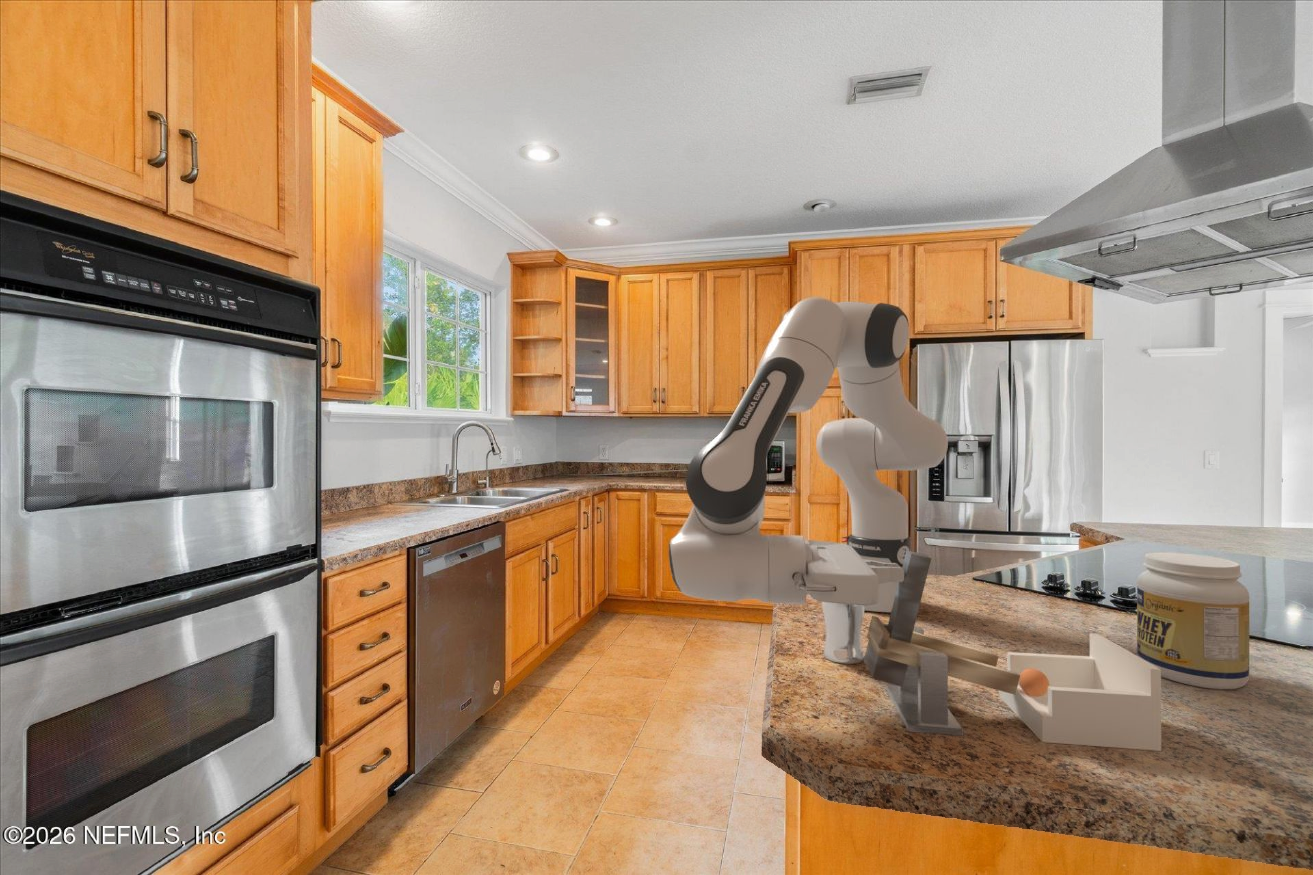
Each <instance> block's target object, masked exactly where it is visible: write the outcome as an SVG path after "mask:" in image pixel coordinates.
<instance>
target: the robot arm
mask: <svg viewBox="0 0 1313 875" xmlns="http://www.w3.org/2000/svg"><path fill="white" fill-rule="evenodd" d="M909 339H910V325H909V319H908V316H907V314H905V312H904V311H903V310H902V309H901V307H899V306H897V305H893V304H889V303H883V302H880V303H877V304H876V303H868V302H861V301H860V302H859V301H841V302H833V301H832V300H830V299H827V298H825V297H818V296H817V297H816V296H813V297H807V298H804V299H802V300H800V301H798V302H797V303H796V304H795V305H794V306H793V307H791V308H789V310H788V311H786V313H784V315H783V316H782V318H781V320H780V323H779V325H778V326H777V328H776V330H775V332H774V333H772V336H771V338H770V339H769V342H768V344H767V345H766V348H765V350H764V352H763V353H762V356H761V357H760V361H759V363H758V364H757V367H756V371H755V374H754V377H753V380H752V381H751V383H750V385H748V388H747V389H746V391H745V393H744V394H743V396H742V398H741V400H740V402H739V403H738V405H737V407H736V409H735V410H734V412H733V414H732V415H731V417H730V419H729V421H728V422H727V424H726V425H725V427H724V428H723V429H722V430H721V432H720V433H719V434H718V435H717V436H715V437H714V439H712V440H711V441H710V442H708V443H707V444H706V445H705V446H703V447H702V448H701V449H700V450H699V451H698V452H696V454H695V455H694V456H693V458H692V459H691V461H690V463H689V465H688V467H687V471H686V474H685V487H686V492H687V494H688V496H689V500H690V501H691V502H692V504H693V505H692V508H691V510H690V512H689V514H688V517H687V518H686V520H685V522H684V523H683V525H682V527H681V528H680V529H679V530H678V532H677V534H675V536H673V537H672V538H671V539H670V541H669V543H668V562H669V568H670V573H671V577H672V580H673V583H674V585H675V587H676V588H677V589H678V590H679V591H680V592H681V593H682V594H683V595H684V596H687V597H691V598H694V599H695V598H696V599H701V600H708V601H719V602H720V601H721V602H739V601H743V600H756V601H759V602H761V603H767V604H768V603H769V604H770V603H771V604H787V605H792V604H793V605H805V604H806V602H807V595H809V596H810V598H811V599H812V600H815V601H816V602H828V603H838V604H850V605H864V606H865V610H864V611H868V612H878V613H879V612H880V613H891V611H892V607H893V603H894V599H895V595H896V591H897V587H898V583H899V582H903V581H904V570H903V568H902V567H903V563H904V559H905V555H906V551H907V550H908V551H912V550H911V548H912V547H911V538H910V536H909V505H908V501H907V499H906V497H905V496H904V495H903V494H902V493H901V492H899V491H898V490H897V489H894V488H892V487H890V486H888V485H886V484H884V483H883V482H881V481H880V480H879V478H878V476H877V471H910V472H911V471H917V470H925V469H930V468H936V467H937V466H938V465H940V464H941V462H942V461H943V460H944V459H945V456H946V454H947V451H948V448H949V447H948V445H949V441H948V440H949V439H948V436H947V433H946V431H945V429H944V428H943V426H942V425H941V424H940V422H938V421H937V420H935V419H933V418H930V417H929V416H927V415H925V414H924V413H922V412H920V411H919V410H918V409H917V408H915V407H914V405H912V403H911V402H910V401H909V399H908V398H907V396H906V394H905V391H904V387H903V386H904V385H903V382H902V381H903V380H902V378H901V376H902V375H901V370H900V360H901V359H902V358H903V356H904V355H905V353H906V350H907V347H908V344H909ZM836 369H837V373H838V378H839V384H840V389H841V395H842V399H843V403H844V405H845V407H846V408H847V409H848V411H849V412H851V414H853V415H854V416H855V417H852V418H851V417H849V418H848V417H847V418H842V419H841V418H840V419H837V420H836V419H835V420H832V421H829V422H825V423H824V424H823V425H822V426H821V428H820V429H819V432H818V433H817V436H816V442H815V444H816V451H817V455H818V457H819V458H820V459H821V462H823V463H824V464H825V466H827V467H828V468H830V469H831V470H832V471H833V472H834V473H835V474H836V475H838V477H839V479H840V480H841V481H842V482H843V485H844V487H845V489H846V491H847V494H848V498H849V504H850V515H851V517H850V518H851V534H849V535H847V536H842V537H841V539H843V540H841V542H836V541H835V542H833V541H824V540H813V539H805V537H804V535H794V534H793V535H791V534H788V535H787V534H785V535H784V534H783V535H782V534H762V533H761V532H760V529H761V525H762V522H763V521H764V515H765V509H766V508H765V505H766V504H765V503H766V502H765V500H766V499H765V498H766V497H765V495H766V489H767V480H768V468H767V458H768V454H769V451H770V449H771V448H772V447H771V446H772V445H773V443H774V441H775V439H776V437H777V435H778V434H779V431H780V430H781V428H782V426H783V423H784V421H785V420H786V418H787V416H788V414H798V413H805V412H806V411H810V410H811V409H813V408H814V407H815V405H816V404H817V403H818V401H819V400H820V399H821V397H822V395H823V394H824V393H825V391H826V389H827V388H828V386H829V383H831V382H830V381H831V380H832V377H833V375H834V373H835V371H836Z"/></svg>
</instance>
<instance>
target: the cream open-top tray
mask: <svg viewBox="0 0 1313 875" xmlns="http://www.w3.org/2000/svg"><path fill="white" fill-rule="evenodd" d="M1026 669H1036V670H1039V671H1041V672H1042V673H1043V674H1045V676H1046V677H1047V678H1048V680H1049V684H1050V686H1048V692H1047V693H1046V694H1045V695H1043V696H1040V697H1035V696H1031V695H1029V694H1027V693H1026V692H1025V691H1024V690H1023V689H1022V688H1021V686H1020V684H1019V682H1018V686H1017V690H1016V694H1015V695H1014V694H1010V693H1007V692H1003V691H1000V690H998V697H999V698H1000V700H1001V701H1003V702H1004V703H1005V705H1007V707H1008V708H1009V709H1011V711H1012V712H1014V714H1015V715H1016V716H1017V717H1018V718H1019V719H1020V720H1021V721H1022V723H1024V724H1025V725H1026V726H1027V727H1028V728H1029V730H1030V731H1032V732H1033V734H1034V735H1035V736H1036V737H1037V738H1038V739H1039V740H1040V741H1041V742H1042V743H1046V744H1047V743H1049V744H1050V743H1051V744H1065V745H1078V746H1088V747H1089V746H1091V747H1092V746H1093V747H1103V748H1104V747H1105V748H1115V749H1116V748H1118V749H1131V750H1141V751H1142V750H1145V751H1158V752H1161V751H1162V677H1161V669H1159V668H1157V667H1156V666H1154V665H1152V664H1150V663H1149V662H1147V661H1145V660H1143V659H1142V658H1140V657H1138V656H1137V654H1134V653H1132V652H1131V651H1130V650H1128V649H1126V648H1124V647H1122V646H1120V645H1118V644H1117V643H1115V642H1113V641H1111V640H1109V639H1108V638H1106V637H1104V636H1103V635H1101V634H1099V633H1089V655H1069V654H1048V653H1035V652H1034V653H1029V652H1010V651H1009V652H1008V651H1007V652H1006V670H1009V671H1013V672H1016V673H1018V674H1019V675H1020V674H1021V672H1022V671H1024V670H1026Z"/></svg>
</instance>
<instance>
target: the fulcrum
mask: <svg viewBox="0 0 1313 875" xmlns="http://www.w3.org/2000/svg"><path fill="white" fill-rule="evenodd" d="M913 632H917V633H921V634H924V632H925V630H924V628H923V627H922V626H914V630H913ZM924 635H925V634H924ZM948 677H949V676H948V657H947V655H946V654H945V653H936V652H918V667H915V666H911V665H908V667H907V671H906V675H905V679H904V683H903V687H901V686H898V685H894V684H891V683H886V684H885V686H886V687H885V688H886V690H885V691H886V693H887V694H888V696H889V698H890V699H891V702H892V704H893V706H894V707H895V710H896V711H897V713H898V715H899V717H900V718H901V720H902V722H903V724H904V726H905V729H906V730H907V732H910V733H911V732H912V733H921V734H938V735H949V736H950V735H951V736H963V731H964V730H963V728H962V725H961V724H960V723H959V722H958V720H957V719H956V717H955V715H953V713H952V712H951V711H950V709H949V708H948V707H949V701H948V700H949V696H948V695H949V690H948V689H949V688H948V687H949V686H948V685H949V684H948V682H949V680H948Z"/></svg>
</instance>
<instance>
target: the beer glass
mask: <svg viewBox="0 0 1313 875" xmlns="http://www.w3.org/2000/svg"><path fill="white" fill-rule="evenodd" d="M820 602H821V601H820ZM821 609H822V614H823V618H824V619H823V620H824V625H825V642H824V647H823V657H824V658H825V659H827V660H828V661H831V662H833V663H837V664H843V665H855V664H859V663H861V662H863V661H864V657H865V655H864V651H863V646H862V636H861V635H862V627H863V620H864V615H865V611H866V610H865V606H864V605H850V604H838V603H828V602H821Z"/></svg>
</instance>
